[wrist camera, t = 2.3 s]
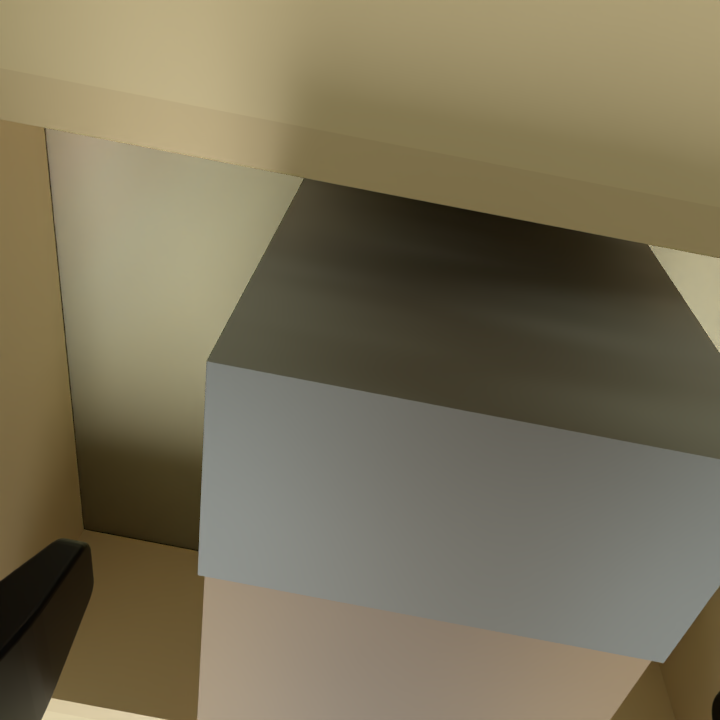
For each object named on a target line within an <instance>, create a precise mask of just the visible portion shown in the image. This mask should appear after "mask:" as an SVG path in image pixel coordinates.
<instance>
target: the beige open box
mask: <svg viewBox="0 0 720 720" xmlns="http://www.w3.org/2000/svg"><path fill="white" fill-rule="evenodd" d="M44 128H48V129H53V130H59V131H64V132H69V133H74V134H79V135H85V136H90V137H95V138H100V139H105V140H110V141H116V142H121V143H126V144H131V145H136V146H141V147H147V148H152V149H157V150H162V151H167V152H173V153H178V154H183V155H188V156H193V157H198V158H204V159H209V160H214V161H219V162H224V163H229V164H235V165H240V166H245V167H250V168H255V169H261V170H266V171H271V172H276V173H281V174H286V175H292V176H297V177H302V178H307V179H312V180H317V181H323V182H328V183H333V184H338V185H343V186H349V187H354V188H359V189H364V190H369V191H374V192H380V193H385V194H390V195H395V196H400V197H405V198H411V199H416V200H421V201H426V202H431V203H437V204H442V205H447V206H452V207H457V208H462V209H468V210H473V211H478V212H483V213H488V214H493V215H499V216H504V217H509V218H514V219H519V220H525V221H530V222H535V223H540V224H545V225H550V226H556V227H561V228H566V229H571V230H576V231H581V232H587V233H592V234H597V235H602V236H607V237H613V238H618V239H623V240H628V241H633V242H638V243H644V244H649V245H654V246H659V247H664V248H670V249H675V250H680V251H685V252H690V253H695V254H701V255H706V256H711V257H716V258H720V0H0V581H1V580H2V579H3V578H5V577H6V576H7V575H9V574H10V573H11V572H13V571H14V570H16V569H17V568H18V567H20V566H21V565H22V564H24V563H25V562H26V561H28V560H29V559H30V558H32V557H33V556H34V555H36V554H37V553H38V552H40V551H41V550H42V549H44V548H45V547H46V546H48V545H49V544H51V543H52V542H53V541H55V540H57V539H60V538H66V539H72V540H77V541H82V542H86V543H88V544H89V546H90V548H91V554H92V565H93V576H94V585H93V591H92V595H91V598H90V600H89V603H88V606H87V608H86V611H85V613H84V616H83V618H82V621H81V624H80V626H79V629H78V631H77V634H76V636H75V639H74V641H73V644H72V647H71V649H70V652H69V654H68V657H67V659H66V662H65V665H64V667H63V670H62V672H61V675H60V677H59V680H58V682H57V685H56V688H55V690H54V693H53V695H52V697H51V700H50V702H49V705H48V707H47V709H46V711H45V713H44V715H43V718H42V720H197V716H198V697H199V677H200V657H201V638H202V618H203V598H204V579H205V576H200V575H198V556H199V551H195V550H189V549H184V548H179V547H174V546H168V545H163V544H158V543H152V542H147V541H142V540H136V539H131V538H126V537H121V536H115V535H110V534H105V533H99V532H94V531H89V530H84V527H83V517H82V506H81V496H80V486H79V476H78V466H77V456H76V446H75V435H74V425H73V415H72V405H71V395H70V385H69V375H68V364H67V354H66V344H65V334H64V324H63V314H62V304H61V293H60V283H59V273H58V263H57V253H56V243H55V233H54V222H53V212H52V202H51V192H50V182H49V172H48V162H47V151H46V141H45V131H44ZM719 691H720V586H719V587H718V589H717V590H716V591H715V593H714V594H713V596H712V597H711V598H710V600H709V601H708V602H707V604H706V605H705V607H704V608H703V609H702V611H701V612H700V614H699V615H698V616H697V618H696V619H695V620H694V622H693V623H692V625H691V626H690V627H689V629H688V630H687V632H686V633H685V634H684V636H683V637H682V638H681V640H680V641H679V643H678V644H677V645H676V647H675V648H674V650H673V651H672V652H671V654H670V655H669V656H668V658H667V659H666V661H665V662H664V663H660V662H655V661H651V662H650V664H649V665H648V667H647V668H646V670H645V671H644V672H643V674H642V675H641V677H640V678H639V680H638V681H637V682H636V684H635V685H634V687H633V688H632V689H631V691H630V692H629V694H628V695H627V697H626V698H625V699H624V701H623V702H622V704H621V705H620V707H619V708H618V709H617V711H616V712H615V714H614V715H613V717H612V718H611V719H610V720H712V703H713V700H714V698H715V696H716V695H717V693H718V692H719Z"/></svg>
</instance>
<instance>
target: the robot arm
mask: <svg viewBox="0 0 720 720" xmlns="http://www.w3.org/2000/svg"><path fill="white" fill-rule="evenodd" d="M93 585H94V576H93V565H92V554H91V548H90V546H89V544H88V543H86V542H82V541H77V540H72V539H66V538H60V539H57V540H55V541H53V542H52V543H51V544H49V545H48V546H46V547H45V548H44V549H42V550H41V551H40V552H38V553H37V554H36V555H34V556H33V557H32V558H30V559H29V560H28V561H26V562H25V563H24V564H22V565H21V566H20V567H18V568H17V569H16V570H14V571H13V572H11V573H10V574H9V575H7V576H6V577H5V578H3V579H2V580H1V581H0V720H42V718H43V715H44V713H45V711H46V709H47V707H48V705H49V702H50V700H51V697H52V695H53V693H54V690H55V688H56V685H57V682H58V680H59V677H60V675H61V672H62V670H63V667H64V665H65V662H66V659H67V657H68V654H69V652H70V649H71V647H72V644H73V641H74V639H75V636H76V634H77V631H78V629H79V626H80V624H81V621H82V618H83V616H84V613H85V611H86V608H87V606H88V603H89V600H90V598H91V595H92V591H93ZM712 720H720V691H719V692H718V693H717V695H716V696H715V698H714V700H713V703H712Z"/></svg>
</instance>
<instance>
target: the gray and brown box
mask: <svg viewBox="0 0 720 720" xmlns="http://www.w3.org/2000/svg"><path fill="white" fill-rule="evenodd" d="M198 575H200V576H205V579H204V598H203V618H202V638H201V657H200V677H199V697H198V716H197V720H610V719H611V718H612V717H613V715H614V714H615V712H616V711H617V709H618V708H619V707H620V705H621V704H622V702H623V701H624V699H625V698H626V697H627V695H628V694H629V692H630V691H631V689H632V688H633V687H634V685H635V684H636V682H637V681H638V680H639V678H640V677H641V675H642V674H643V672H644V671H645V670H646V668H647V667H648V665H649V664H650V662H651V661H655V662H660V663H664V662H665V661H666V659H667V658H668V656H669V655H670V654H671V652H672V651H673V650H674V648H675V647H676V645H677V644H678V643H679V641H680V640H681V638H682V637H683V636H684V634H685V633H686V632H687V630H688V629H689V627H690V626H691V625H692V623H693V622H694V620H695V619H696V618H697V616H698V615H699V614H700V612H701V611H702V609H703V608H704V607H705V605H706V604H707V602H708V601H709V600H710V598H711V597H712V596H713V594H714V593H715V591H716V590H717V589H718V587H719V586H720V353H719V352H718V350H717V349H716V347H715V346H714V344H713V343H712V341H711V340H710V338H709V337H708V335H707V334H706V332H705V331H704V329H703V328H702V326H701V324H700V323H699V321H698V320H697V318H696V317H695V315H694V314H693V312H692V311H691V309H690V308H689V306H688V305H687V303H686V302H685V300H684V299H683V297H682V296H681V294H680V293H679V291H678V290H677V288H676V287H675V285H674V284H673V282H672V281H671V279H670V278H669V276H668V275H667V273H666V272H665V270H664V269H663V267H662V266H661V264H660V263H659V261H658V259H657V258H656V256H655V255H654V253H653V252H652V250H651V249H650V247H649V246H648V244H644V243H638V242H633V241H628V240H623V239H618V238H613V237H607V236H602V235H597V234H592V233H587V232H581V231H576V230H571V229H566V228H561V227H556V226H550V225H545V224H540V223H535V222H530V221H525V220H519V219H514V218H509V217H504V216H499V215H493V214H488V213H483V212H478V211H473V210H468V209H462V208H457V207H452V206H447V205H442V204H437V203H431V202H426V201H421V200H416V199H411V198H405V197H400V196H395V195H390V194H385V193H380V192H374V191H369V190H364V189H359V188H354V187H349V186H343V185H338V184H333V183H328V182H323V181H317V180H312V179H307V178H304V180H303V182H302V184H301V185H300V187H299V189H298V191H297V193H296V195H295V197H294V199H293V200H292V202H291V204H290V206H289V208H288V210H287V212H286V214H285V215H284V217H283V219H282V221H281V223H280V225H279V227H278V229H277V230H276V232H275V234H274V236H273V238H272V240H271V242H270V244H269V245H268V247H267V249H266V251H265V253H264V255H263V257H262V259H261V260H260V262H259V264H258V266H257V268H256V270H255V272H254V274H253V275H252V277H251V279H250V281H249V283H248V285H247V287H246V289H245V290H244V292H243V294H242V296H241V298H240V300H239V302H238V304H237V305H236V307H235V309H234V311H233V313H232V315H231V317H230V318H229V320H228V322H227V324H226V326H225V328H224V330H223V332H222V333H221V335H220V337H219V339H218V341H217V343H216V345H215V347H214V348H213V350H212V352H211V354H210V356H209V358H208V360H207V365H206V389H205V413H204V437H203V461H202V484H201V508H200V532H199V556H198Z"/></svg>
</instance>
